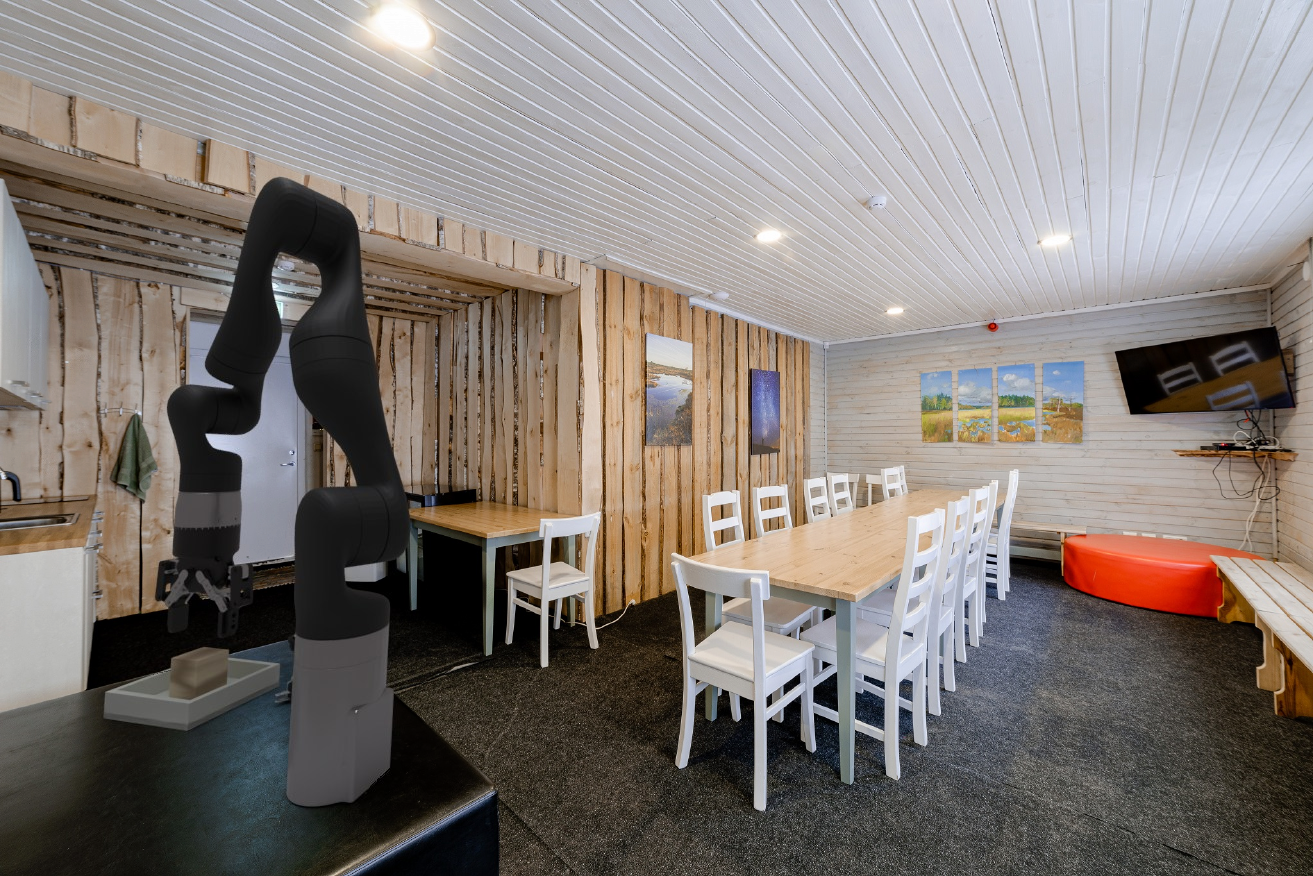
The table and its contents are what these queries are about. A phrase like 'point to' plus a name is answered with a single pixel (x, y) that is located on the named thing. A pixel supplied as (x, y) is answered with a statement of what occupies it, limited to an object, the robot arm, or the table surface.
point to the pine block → (198, 672)
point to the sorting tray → (156, 708)
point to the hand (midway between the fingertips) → (201, 633)
